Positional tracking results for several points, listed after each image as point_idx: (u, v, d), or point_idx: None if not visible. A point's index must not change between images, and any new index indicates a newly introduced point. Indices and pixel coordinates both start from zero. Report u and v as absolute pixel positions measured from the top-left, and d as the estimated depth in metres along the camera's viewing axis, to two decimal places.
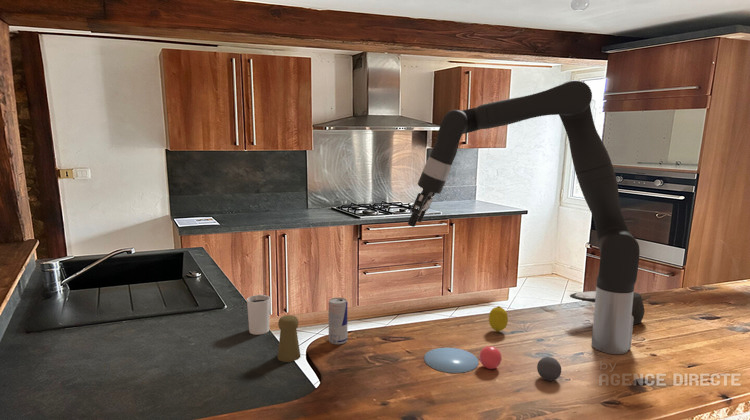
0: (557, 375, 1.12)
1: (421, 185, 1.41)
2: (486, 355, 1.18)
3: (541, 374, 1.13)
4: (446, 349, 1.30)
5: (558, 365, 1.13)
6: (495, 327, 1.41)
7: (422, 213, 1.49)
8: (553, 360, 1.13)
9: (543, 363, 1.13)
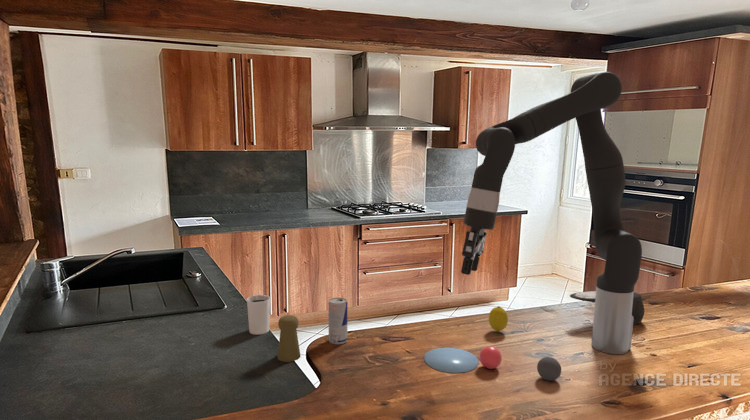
0: (557, 375, 1.12)
1: (468, 222, 1.16)
2: (486, 355, 1.18)
3: (541, 374, 1.13)
4: (446, 349, 1.30)
5: (558, 365, 1.13)
6: (495, 327, 1.41)
7: (476, 259, 1.22)
8: (553, 360, 1.13)
9: (543, 363, 1.13)
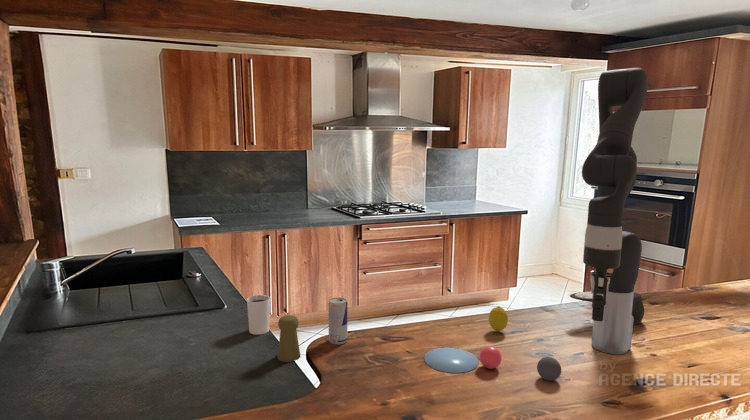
0: (557, 375, 1.12)
1: (592, 264, 1.05)
2: (486, 355, 1.18)
3: (541, 374, 1.13)
4: (446, 349, 1.30)
5: (558, 365, 1.13)
6: (495, 327, 1.41)
7: (599, 297, 1.11)
8: (553, 360, 1.13)
9: (543, 363, 1.13)
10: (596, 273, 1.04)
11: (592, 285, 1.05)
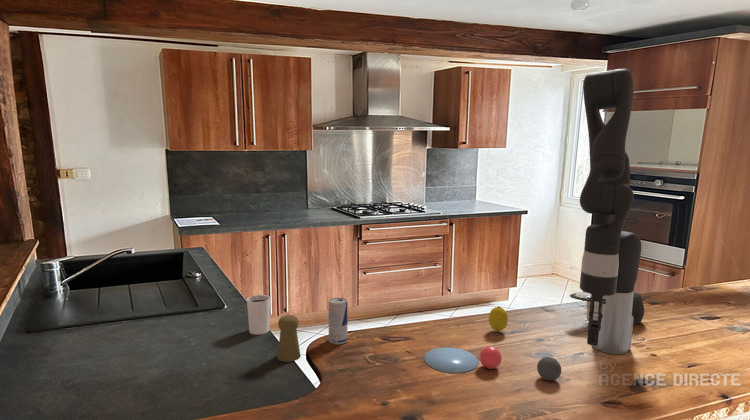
0: (557, 375, 1.12)
1: (588, 290, 1.06)
2: (486, 355, 1.18)
3: (541, 374, 1.13)
4: (446, 349, 1.30)
5: (558, 365, 1.13)
6: (495, 327, 1.41)
7: None
8: (553, 360, 1.13)
9: (543, 363, 1.13)
10: (592, 300, 1.05)
11: (588, 313, 1.08)
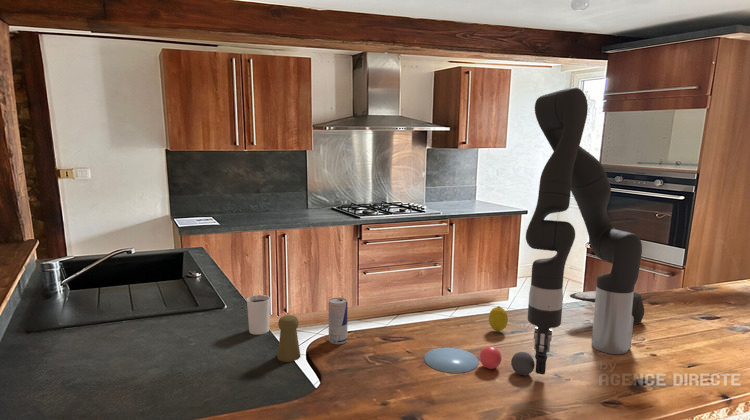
0: (521, 358, 1.15)
1: (534, 323, 1.11)
2: (486, 355, 1.18)
3: (526, 372, 1.15)
4: (446, 349, 1.30)
5: (513, 357, 1.17)
6: (495, 327, 1.41)
7: (543, 361, 1.14)
8: (511, 362, 1.18)
9: (516, 372, 1.16)
10: (538, 332, 1.10)
11: (535, 344, 1.13)
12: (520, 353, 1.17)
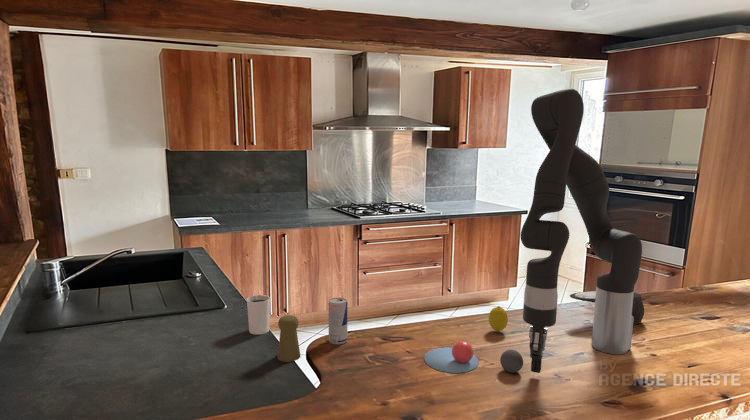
0: (503, 358, 1.17)
1: (529, 322, 1.12)
2: (459, 360, 1.21)
3: (517, 364, 1.16)
4: (446, 349, 1.30)
5: (501, 363, 1.19)
6: (495, 327, 1.41)
7: None
8: None
9: (513, 372, 1.17)
10: (533, 331, 1.11)
11: (530, 342, 1.14)
12: (501, 355, 1.19)
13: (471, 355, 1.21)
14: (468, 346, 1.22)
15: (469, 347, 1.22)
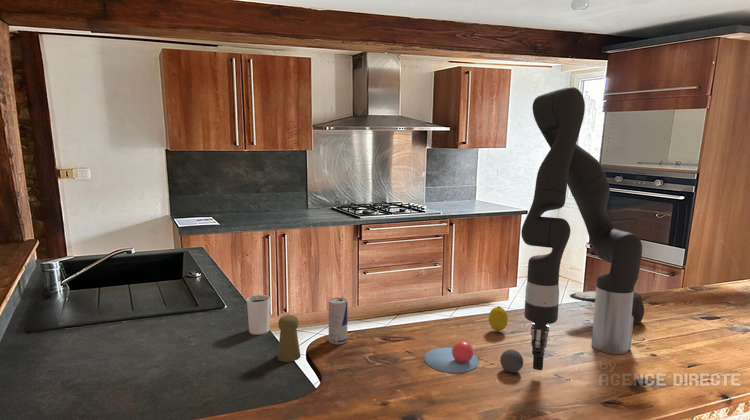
0: (503, 358, 1.17)
1: (531, 319, 1.11)
2: (459, 360, 1.21)
3: (517, 364, 1.16)
4: (446, 349, 1.30)
5: (501, 363, 1.19)
6: (495, 327, 1.41)
7: None
8: None
9: (513, 372, 1.17)
10: (535, 328, 1.11)
11: (532, 340, 1.14)
12: (501, 355, 1.19)
13: (471, 355, 1.21)
14: (468, 346, 1.22)
15: (469, 347, 1.22)
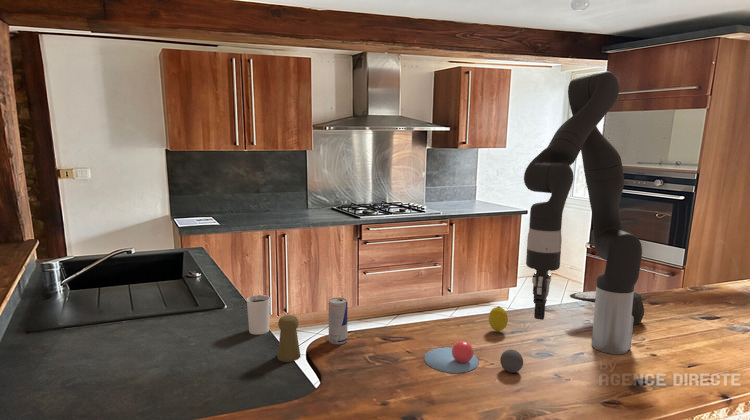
0: (503, 358, 1.17)
1: (532, 266, 1.10)
2: (459, 360, 1.21)
3: (517, 364, 1.16)
4: (446, 349, 1.30)
5: (501, 363, 1.19)
6: (495, 327, 1.41)
7: None
8: None
9: (513, 372, 1.17)
10: (536, 275, 1.09)
11: (534, 288, 1.12)
12: (501, 355, 1.19)
13: (471, 355, 1.21)
14: (468, 346, 1.22)
15: (469, 347, 1.22)
